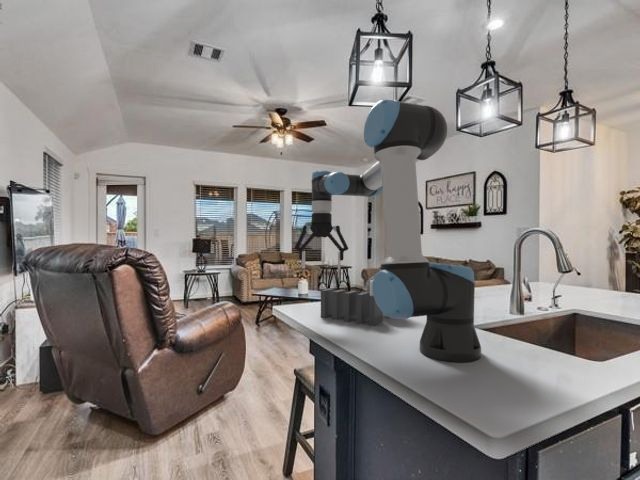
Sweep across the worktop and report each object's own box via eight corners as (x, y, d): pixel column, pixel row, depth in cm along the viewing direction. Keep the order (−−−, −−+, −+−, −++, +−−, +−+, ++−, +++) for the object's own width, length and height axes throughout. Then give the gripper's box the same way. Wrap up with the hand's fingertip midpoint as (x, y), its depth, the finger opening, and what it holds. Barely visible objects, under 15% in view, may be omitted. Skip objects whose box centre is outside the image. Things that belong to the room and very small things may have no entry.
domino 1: (334, 314, 139) (334, 288, 138) (325, 317, 134) (325, 290, 133) (329, 314, 140) (329, 288, 140) (320, 317, 135) (320, 290, 135)
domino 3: (357, 318, 133) (357, 291, 133) (348, 321, 128) (348, 293, 128) (352, 317, 134) (352, 290, 134) (343, 321, 129) (344, 292, 129)
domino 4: (369, 320, 130) (369, 292, 130) (361, 324, 125) (361, 294, 125) (364, 319, 131) (364, 291, 131) (356, 323, 126) (356, 294, 126)
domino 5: (382, 322, 127) (382, 293, 127) (374, 326, 122) (374, 296, 122) (377, 321, 128) (377, 293, 128) (369, 325, 123) (369, 295, 123)
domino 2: (345, 316, 136) (345, 289, 135) (336, 319, 131) (336, 292, 131) (341, 316, 137) (341, 289, 137) (332, 319, 132) (332, 291, 132)
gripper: (355, 213, 140) (354, 268, 140) (291, 213, 143) (291, 267, 144) (354, 212, 132) (353, 270, 133) (287, 212, 136) (286, 269, 137)
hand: (321, 268), depth 138 cm, fingers open, 13 cm apart
